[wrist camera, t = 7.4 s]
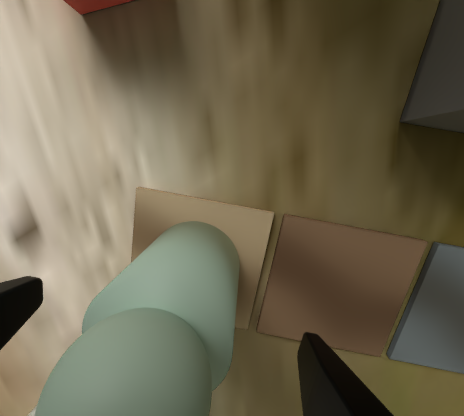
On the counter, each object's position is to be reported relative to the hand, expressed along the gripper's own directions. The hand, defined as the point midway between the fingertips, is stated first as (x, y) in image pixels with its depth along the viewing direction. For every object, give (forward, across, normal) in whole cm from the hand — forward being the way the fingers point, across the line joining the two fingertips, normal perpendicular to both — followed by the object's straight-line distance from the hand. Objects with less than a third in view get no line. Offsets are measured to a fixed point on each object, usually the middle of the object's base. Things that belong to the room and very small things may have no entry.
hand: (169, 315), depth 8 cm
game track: (+4, -7, 0) cm, 8 cm away
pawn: (+4, 0, 0) cm, 4 cm away
